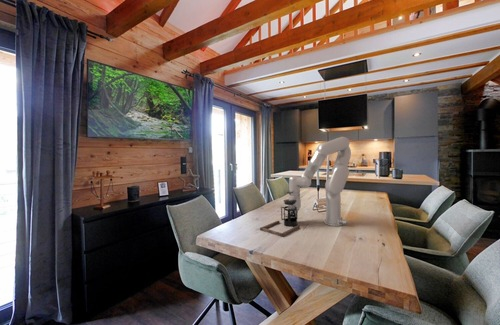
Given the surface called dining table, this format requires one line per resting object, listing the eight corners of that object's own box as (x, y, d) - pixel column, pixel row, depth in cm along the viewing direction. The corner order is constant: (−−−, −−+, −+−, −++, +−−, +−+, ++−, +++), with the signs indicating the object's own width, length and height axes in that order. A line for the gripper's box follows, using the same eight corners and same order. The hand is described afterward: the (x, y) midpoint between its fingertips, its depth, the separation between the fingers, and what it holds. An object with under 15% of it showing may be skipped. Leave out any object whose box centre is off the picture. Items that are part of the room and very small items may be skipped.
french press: (299, 223, 153) (298, 191, 152) (297, 227, 144) (296, 193, 143) (283, 221, 158) (282, 190, 157) (280, 225, 149) (279, 192, 148)
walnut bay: (299, 228, 143) (299, 225, 143) (282, 236, 129) (282, 234, 129) (277, 222, 155) (277, 220, 155) (260, 230, 142) (259, 227, 141)
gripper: (295, 191, 163) (296, 215, 164) (284, 194, 152) (284, 220, 153) (304, 192, 158) (305, 217, 158) (293, 196, 147) (293, 222, 148)
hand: (295, 218), depth 156 cm, fingers closed
